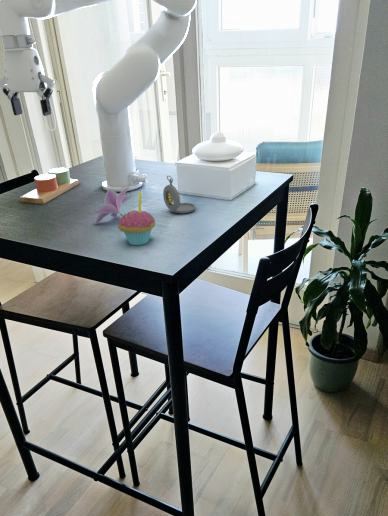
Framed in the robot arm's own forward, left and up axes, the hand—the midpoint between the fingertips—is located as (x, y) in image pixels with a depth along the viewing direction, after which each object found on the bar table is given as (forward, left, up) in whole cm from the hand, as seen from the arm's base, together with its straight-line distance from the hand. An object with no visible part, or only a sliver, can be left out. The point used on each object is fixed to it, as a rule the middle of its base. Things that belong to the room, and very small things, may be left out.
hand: (32, 114), depth 136 cm
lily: (-33, +19, -22) cm, 44 cm away
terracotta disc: (0, 0, -21) cm, 21 cm away
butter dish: (-50, -15, -22) cm, 57 cm away
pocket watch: (-46, +7, -22) cm, 51 cm away
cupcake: (-44, +29, -22) cm, 57 cm away
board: (0, -1, -22) cm, 22 cm away
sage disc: (0, -7, -21) cm, 22 cm away
